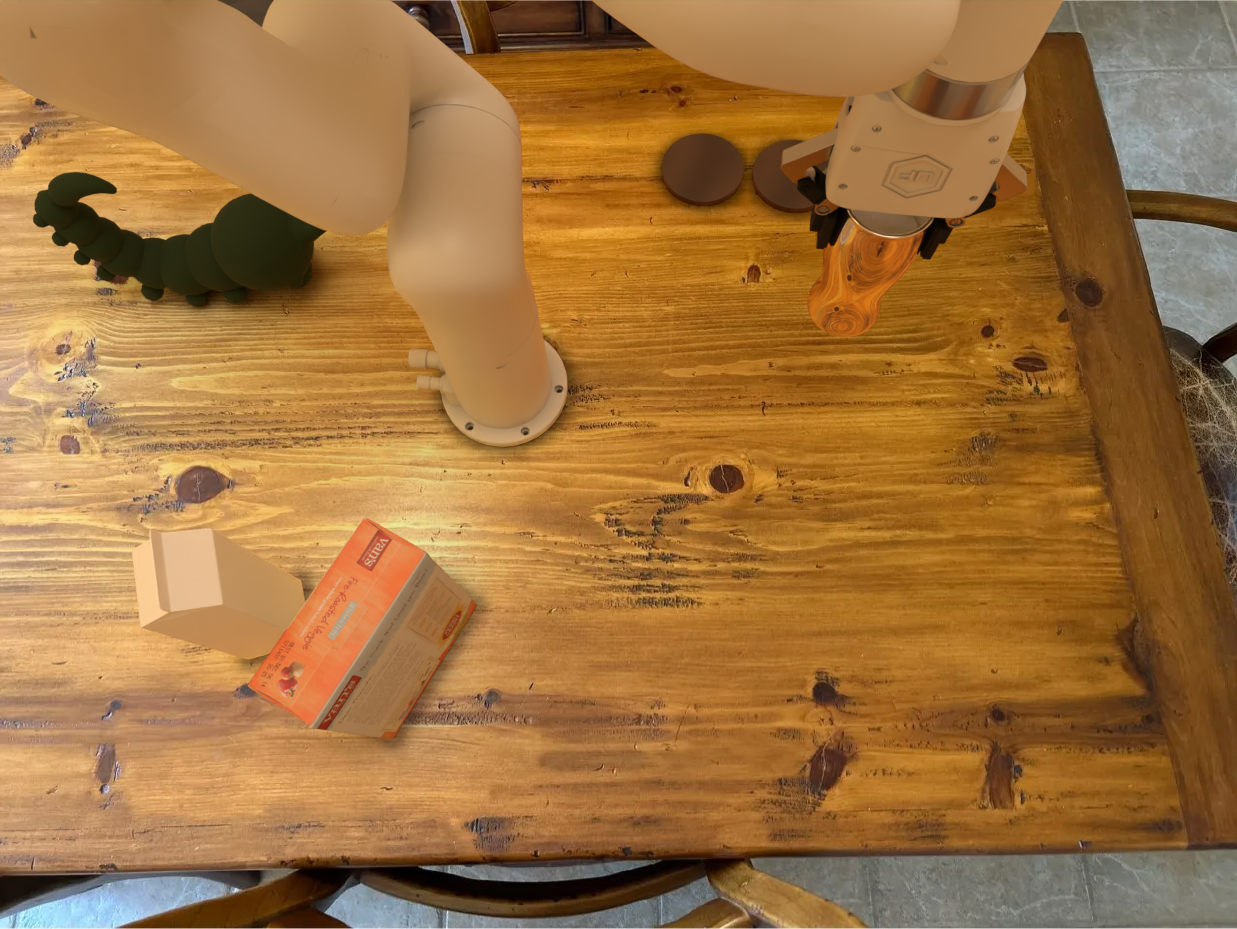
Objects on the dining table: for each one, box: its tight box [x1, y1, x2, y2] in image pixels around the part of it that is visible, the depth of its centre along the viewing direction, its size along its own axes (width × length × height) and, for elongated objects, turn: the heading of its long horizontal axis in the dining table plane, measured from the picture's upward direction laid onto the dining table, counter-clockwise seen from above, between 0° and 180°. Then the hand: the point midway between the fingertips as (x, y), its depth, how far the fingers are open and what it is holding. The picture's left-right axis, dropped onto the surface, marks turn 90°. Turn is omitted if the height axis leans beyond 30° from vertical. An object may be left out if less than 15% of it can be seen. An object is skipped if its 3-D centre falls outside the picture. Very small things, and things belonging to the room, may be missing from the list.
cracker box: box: [247, 516, 478, 740], centre depth 71 cm, size 14×6×21 cm, turn 150°
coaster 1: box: [661, 132, 745, 207], centre depth 97 cm, size 9×9×1 cm
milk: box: [131, 527, 306, 661], centre depth 71 cm, size 6×6×22 cm
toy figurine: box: [32, 171, 327, 308], centre depth 85 cm, size 9×19×25 cm
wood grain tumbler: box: [806, 206, 935, 338], centre depth 68 cm, size 7×7×15 cm
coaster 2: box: [751, 139, 829, 214], centre depth 97 cm, size 9×9×1 cm
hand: (873, 236), depth 66 cm, fingers closed on wood grain tumbler, 7 cm apart
